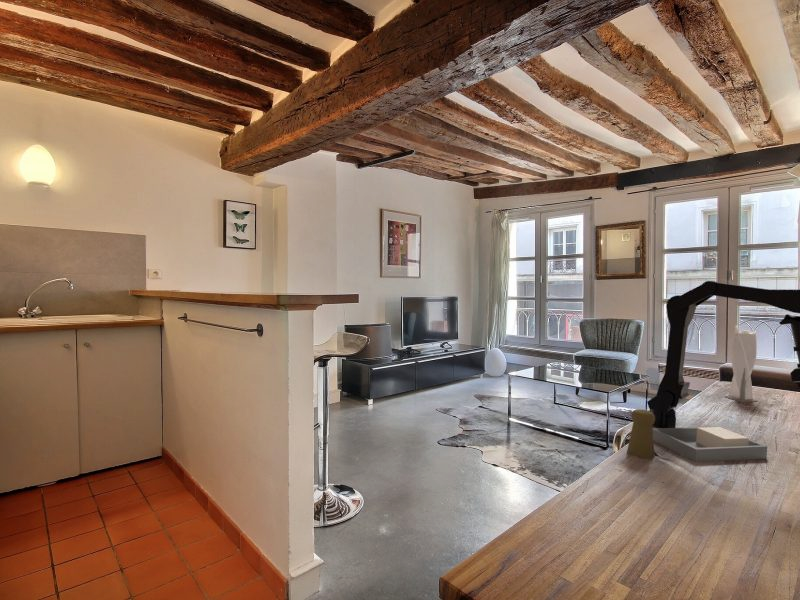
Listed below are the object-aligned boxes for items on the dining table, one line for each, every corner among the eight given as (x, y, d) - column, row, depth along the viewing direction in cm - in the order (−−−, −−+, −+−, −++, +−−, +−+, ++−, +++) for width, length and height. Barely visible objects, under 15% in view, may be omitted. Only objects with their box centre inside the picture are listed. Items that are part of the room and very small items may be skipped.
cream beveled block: (696, 442, 114) (697, 427, 113) (718, 441, 115) (719, 426, 115) (723, 454, 106) (724, 439, 106) (747, 453, 107) (748, 438, 107)
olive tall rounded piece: (653, 451, 109) (655, 409, 108) (656, 460, 103) (659, 415, 103) (626, 447, 112) (629, 405, 111) (627, 455, 106) (630, 411, 105)
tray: (650, 443, 115) (651, 428, 115) (714, 440, 118) (715, 426, 118) (695, 466, 101) (696, 449, 101) (766, 462, 104) (767, 446, 104)
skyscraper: (720, 396, 168) (726, 325, 166) (737, 395, 170) (742, 325, 168) (742, 402, 159) (748, 327, 158) (759, 401, 161) (765, 327, 160)
